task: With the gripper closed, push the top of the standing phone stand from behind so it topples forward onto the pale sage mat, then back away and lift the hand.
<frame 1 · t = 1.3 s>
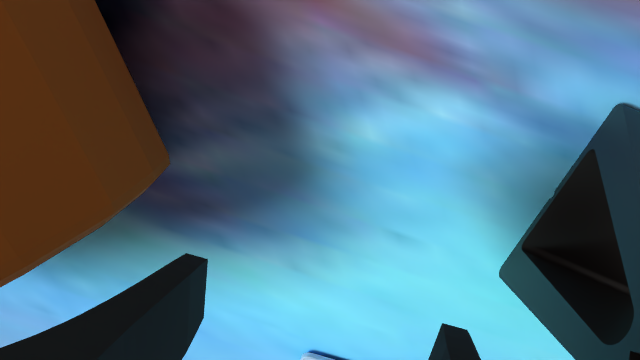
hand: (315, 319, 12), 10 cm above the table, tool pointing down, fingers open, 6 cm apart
phone stand: (615, 220, 20), on the table
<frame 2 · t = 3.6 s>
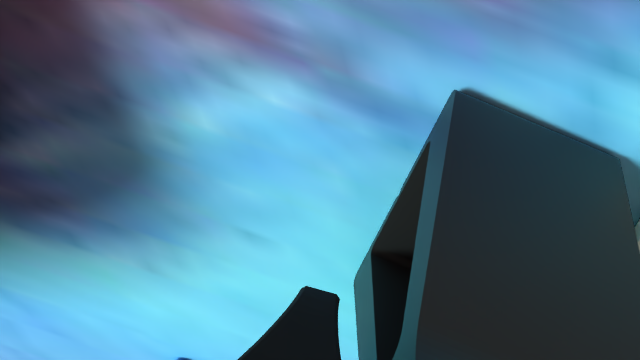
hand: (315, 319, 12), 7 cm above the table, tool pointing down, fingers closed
phone stand: (469, 219, 19), on the table, touching gripper
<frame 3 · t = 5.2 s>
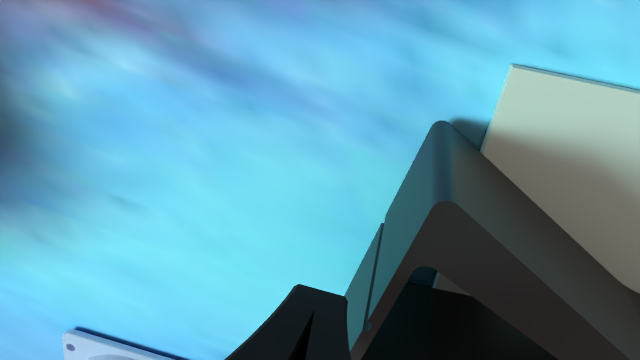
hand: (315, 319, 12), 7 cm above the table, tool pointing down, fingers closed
phone stand: (370, 261, 16), point 4 cm above the table, touching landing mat
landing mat: (626, 283, 18), on the table
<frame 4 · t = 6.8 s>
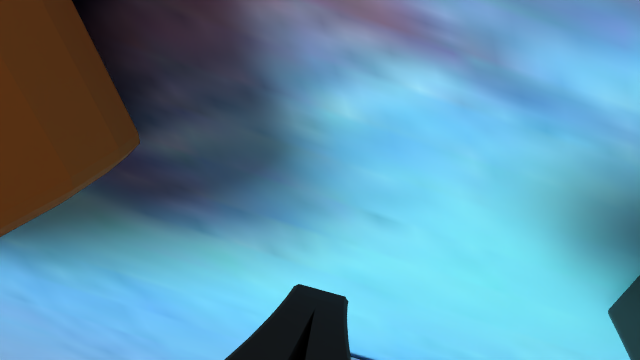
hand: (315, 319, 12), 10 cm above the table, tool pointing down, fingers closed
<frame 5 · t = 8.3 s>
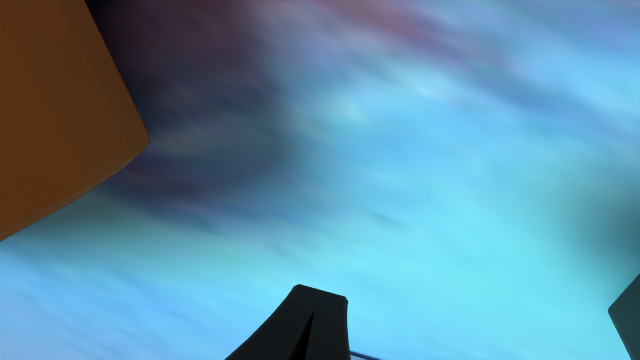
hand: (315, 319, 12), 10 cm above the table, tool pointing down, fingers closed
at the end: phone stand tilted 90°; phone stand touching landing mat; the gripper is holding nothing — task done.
